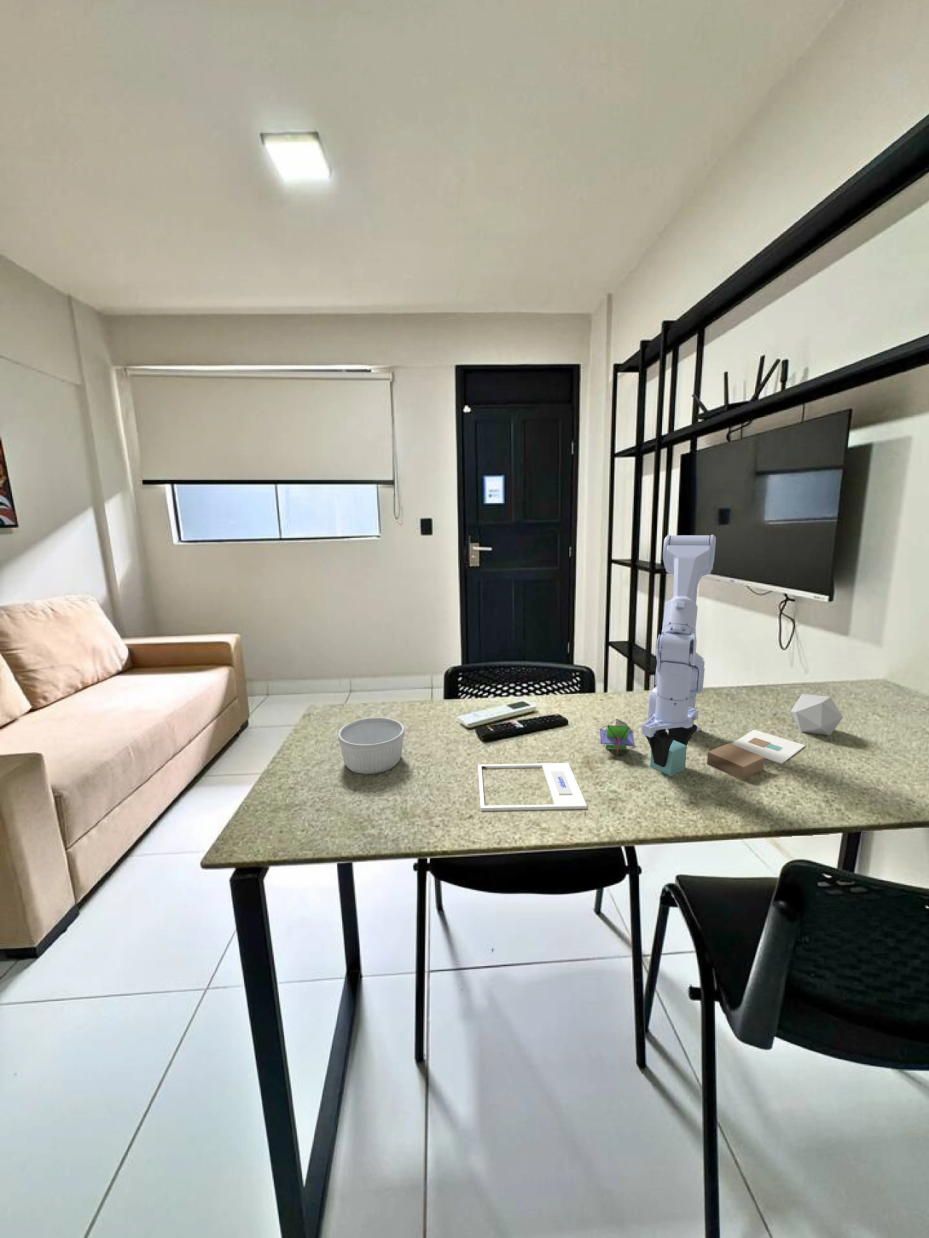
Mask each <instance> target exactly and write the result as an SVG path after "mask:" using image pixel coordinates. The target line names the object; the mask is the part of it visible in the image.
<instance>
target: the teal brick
mask: <svg viewBox="0 0 929 1238" xmlns="http://www.w3.org/2000/svg"><path fill="white" fill-rule="evenodd" d="M687 749H688V744H687V745H684V744H682V743H679V742H677V741H675V740H673V742H672V744H671V746H670V749H669V753H668V759H667V763H666V766H665V767H661V766H659V765H657V764H655V763H654V760H653V755H652V751H651V750H650V762H649V763H650V764H649V765H650V766H649V767H650V768H653V769H655V770H657V771H658V772H661V773H663V774H665V775H667V776H669V777H672V776H674V775H677V774H678V773H680V772H682V771H685V770H686V762H687V760H686V759H687Z"/></svg>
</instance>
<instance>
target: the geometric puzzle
mask: <svg viewBox="0 0 929 1238" xmlns="http://www.w3.org/2000/svg"><path fill="white" fill-rule="evenodd" d="M614 721H615V725H611V724H612V723H613V722H614ZM605 727H606V729H604V728H605ZM634 736H635V735H634V730H633V729H631V727H630V726H629V725H628V724H627V722H625V721H622V720H621V719H618V718H616V719H614V720H613V721H611V722H610V723H609V724H607V725H604V726H603V727H602V728H599V737H600V745H603V746H604V748H605V749H606V750H608V749H611V750H613V749H614V750H616V754H614V753H613V755H614V756H616V758H619V750H623V751H622V752H621V753H620V756H622V755H623V754H624V753H627V752H628V750H627V747H630V750H632V749H633V748H636V745H635V744H636V743H635V737H634ZM611 750H609V752H610V753H612V751H611ZM626 750H627V751H626Z"/></svg>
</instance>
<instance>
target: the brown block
mask: <svg viewBox="0 0 929 1238" xmlns="http://www.w3.org/2000/svg"><path fill="white" fill-rule="evenodd" d="M706 765H707V766H710V767H712V768H714V769H717V770H718V771H721V772H723V773H726V774H728V775H729V776H731V777H734V778H736V779H739V780H740V781H743V780H746V779H747V778H750V777H752V776H754V775H756V774H758V773H760V772H761V771H763V770H764V766H765V757H763V756H761V755H758V754H756V753H753V752H750V751H748V750H745V749H743V748H740V747H738V746H735V745H733V744H732V743H731V742H728V743H726V744H723V745H721V746H719V747H715V748H714V749H712V750H710V751H708V752H707V759H706Z"/></svg>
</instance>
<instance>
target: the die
mask: <svg viewBox="0 0 929 1238" xmlns="http://www.w3.org/2000/svg"><path fill="white" fill-rule="evenodd" d="M790 714H791V715H792V718H793V720H794V721H795V724H796V725H797V727H798V729H799V730H800V732H801V733H807V734H814V735H820V736H827V737H828V736H831V735H832V733H833V732H834V731H835V729H836V728H837V727H838V725H839V724H840V723H841V721H842V720H843V718H844V717H843V715H842V713H841V712H840V710H839V708H838V706H837V705H836V704H835V702H834V700H833V699H832V697H831V696H826V695H816V694H806V693H802V694H801V695H800V697H799V698H798V700H797V701H796V703H795V704H794V705H793V707H792V709H791V710H790Z"/></svg>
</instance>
